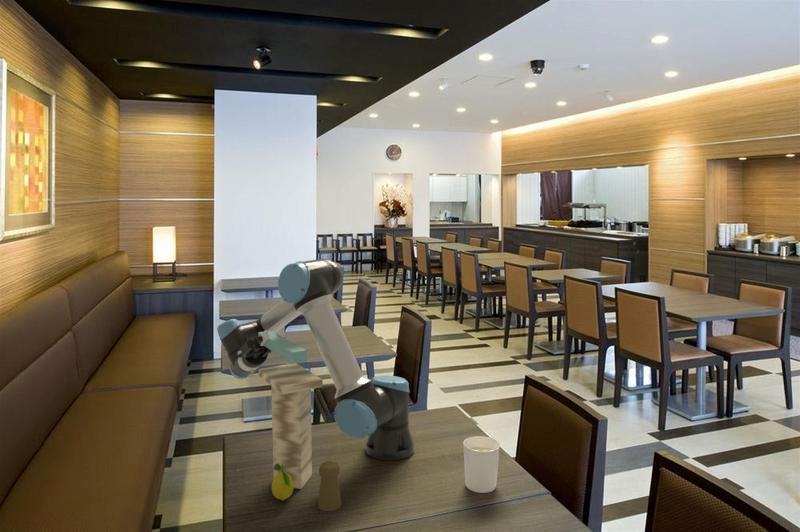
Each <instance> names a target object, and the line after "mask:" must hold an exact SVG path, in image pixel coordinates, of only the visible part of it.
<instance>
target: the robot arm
mask: <svg viewBox="0 0 800 532" xmlns="http://www.w3.org/2000/svg"><path fill="white" fill-rule="evenodd" d="M342 283H343V273H342V270H341V268H340V267H339V265H338V264H337V263H336V262H334V261H333V260H330V259H327V258H319V259H318V258H317V259H312V260H304V261H296V262H294V263H289V264H287V265H286V266H284V267H283V268H282V269H281V271H280V274H279V278H278V281H277V290H278V292H279V295H280V297H281V301H279V302H278V303H277V304H276V305H274V306H273V307H272V308H271V309H269V310H268V311H266V312H265V313H264V314H263V315H262V316H260V317H259V318H257V319H256V320H253V321H250V322H246V323H242V324H241V323H240V322H239V320H238V319H236V318H232V319H228V320H225V321H223V322H222V323H221V324H219V325H218V326H217V328H216V330H217V335H218V336H219V340H220V341H221V344H222V346H223V347H224V350H225V352H226V354H227V356H228V360H229V362H230V366H229V370H230V373H231V374H230V375H231V376H233V377H234V378H236V379H238V380H243V379H244V380H245V379H247V378H249V377H250V376H252V375H253V374H254V373H255V371H257V369H259V368H260V366H262V365H263V364H264V363H265V362H266V360H267V359H268V356H269V354H271V353H272V352H273V351H271V350H270V349H268V348H267V347H265V346H263V345H264V344H265V343H266V342H267V341H268V340H269V334H268V331H272V332H274V333H276V334H278V335H280V336H281V337H283V338H285V339H286V334H285V330H284V327H285V326H287V325H288V324H289V323H291V322H292V321H294V320H295V319H297V318H298V317H299V316H300V315H303V316H304V317H303V318H304V319H305V321H306V324H307V325H308V327H309V330H310V332H311V334H312V336H313V339H314V342H315V343H316V346H317V347H318V350H319V352H320V356H321V357H322V359H323V363H324V364H325V366H326V368H327V371H328V373H329V376H330V378H331V380H332V383H333V384H334V387H335V389H336V392H335V394H334V400H335V402H336V406H335V407H334V414H333V417H334V420H335V423H336V425H337V427H338V428H339V430H340V431H341V433H343V434H344V435H346V436H349V437H350V438H353V439H362V438H364V437H366V436H367V437H366V441H365V452H366V454H367V455H368V456H369V457H371V458H374V459H375V460H379V461H391V462H392V461H400V460H403V459H406V458H409V457H410V456H412V455H413V454H414V453H415V441H414V438H413V435H412V432H411V428H410V387H409V384H410V383H409V382H408V380H407V379H406V378H404V377H400V376H396V375H376V376H373V377H371V379H370V378H367V377H365V376H364V374H363V372H362V369H361V368H360V365H359V364H358V363H359V362H358V361H357V359H356V356H355V355H354V352H353V350H352V348H351V345H350V343H349V341H348V339H347V336H346V334H345V332H344V329H343V327H342V326H341V323H340V321H339V318H338V317H337V314H336V312H335V310H334V307H333V306H332V299H333V297H334V294H335V293H337V292H338V291H339V289H340V287H342ZM258 332H263V333H262V334H261V335H260V336H259V337H258Z"/></svg>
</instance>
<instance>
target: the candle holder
mask: <svg viewBox="0 0 800 532" xmlns="http://www.w3.org/2000/svg"><path fill="white" fill-rule="evenodd" d="M462 443H463V444H462V445H463V459H464V460H463V464H464V482H465V483H464V484H465V487H466V489H468V490H470V491H472V492H473V493H474V492H475V493H477V494H487V493H491V492H493V491H494V490H496V488H497V482H498V481H497V480H498V471H499V458H500V457H499V456H500V448H501V445H500V442H499V441H498V440H497V439H494V437H493V438H492V437H489V436H484V435H475V436H470V437H467V438H465V439H464V440H463V442H462Z"/></svg>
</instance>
